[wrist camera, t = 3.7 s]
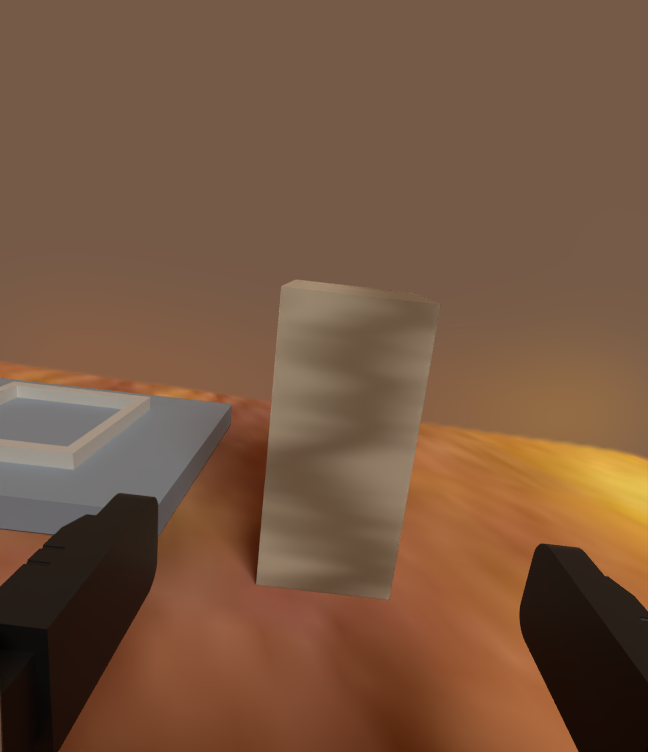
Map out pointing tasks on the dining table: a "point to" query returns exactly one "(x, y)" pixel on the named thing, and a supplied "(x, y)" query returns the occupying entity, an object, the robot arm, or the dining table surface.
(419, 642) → the dining table surface
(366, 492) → the pillar
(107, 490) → the board
